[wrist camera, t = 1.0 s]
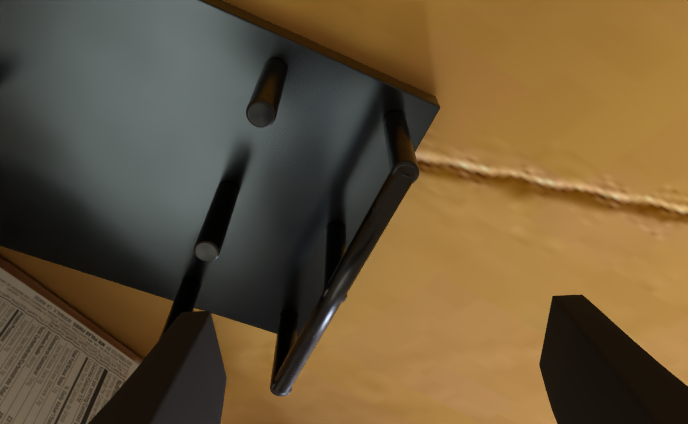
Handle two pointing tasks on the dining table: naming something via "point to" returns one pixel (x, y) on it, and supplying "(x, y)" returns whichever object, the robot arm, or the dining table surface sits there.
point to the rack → (201, 158)
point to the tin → (53, 357)
